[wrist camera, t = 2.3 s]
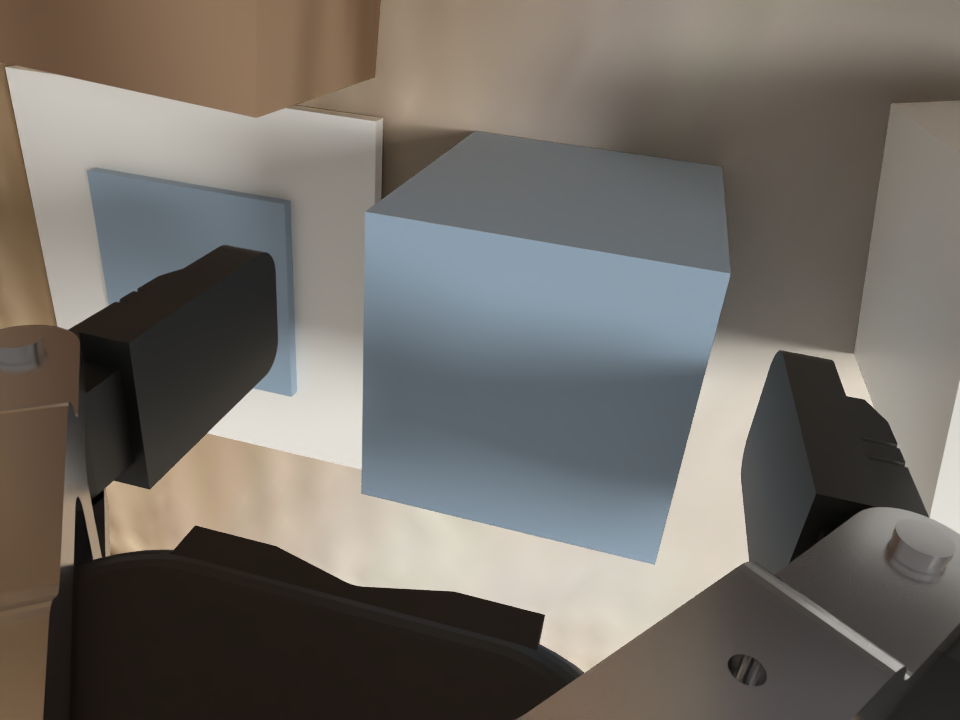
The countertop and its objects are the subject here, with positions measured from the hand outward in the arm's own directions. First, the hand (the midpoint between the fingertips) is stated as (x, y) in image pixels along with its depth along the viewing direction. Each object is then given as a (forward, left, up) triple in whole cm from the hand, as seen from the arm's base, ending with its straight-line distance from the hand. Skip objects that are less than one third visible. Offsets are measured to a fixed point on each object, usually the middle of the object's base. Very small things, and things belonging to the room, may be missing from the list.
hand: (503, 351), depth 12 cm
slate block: (-1, 0, -5) cm, 5 cm away
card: (+8, +2, -5) cm, 10 cm away
